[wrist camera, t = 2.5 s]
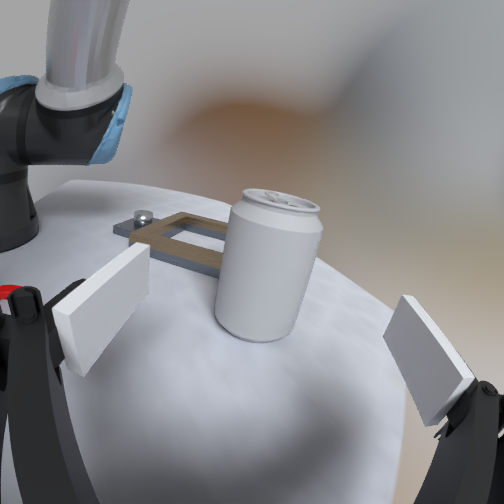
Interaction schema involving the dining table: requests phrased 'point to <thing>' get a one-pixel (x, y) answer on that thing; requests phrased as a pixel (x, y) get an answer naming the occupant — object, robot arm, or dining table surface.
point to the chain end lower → (146, 218)
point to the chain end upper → (178, 248)
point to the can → (266, 264)
